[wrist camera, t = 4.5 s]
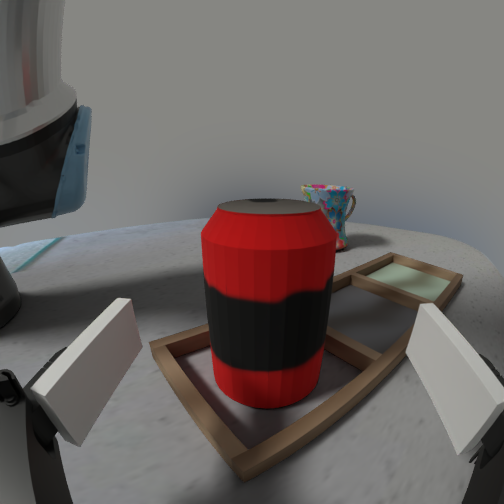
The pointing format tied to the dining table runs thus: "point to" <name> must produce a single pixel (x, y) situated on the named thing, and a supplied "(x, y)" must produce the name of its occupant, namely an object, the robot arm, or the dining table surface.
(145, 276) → the dining table surface
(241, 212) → the soda can
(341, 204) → the mug
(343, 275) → the frame
